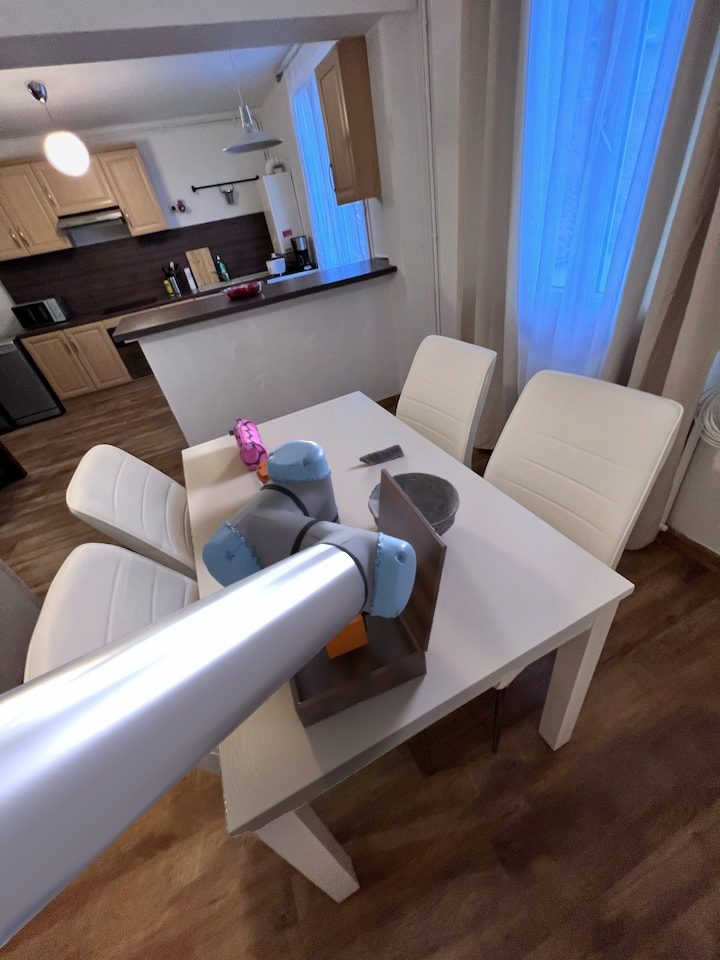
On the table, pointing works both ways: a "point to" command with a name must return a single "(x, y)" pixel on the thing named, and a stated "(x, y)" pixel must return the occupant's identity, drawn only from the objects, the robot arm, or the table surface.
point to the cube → (348, 638)
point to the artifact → (382, 455)
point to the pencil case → (249, 443)
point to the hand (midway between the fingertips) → (342, 633)
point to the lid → (430, 552)
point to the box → (357, 671)
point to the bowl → (425, 498)
